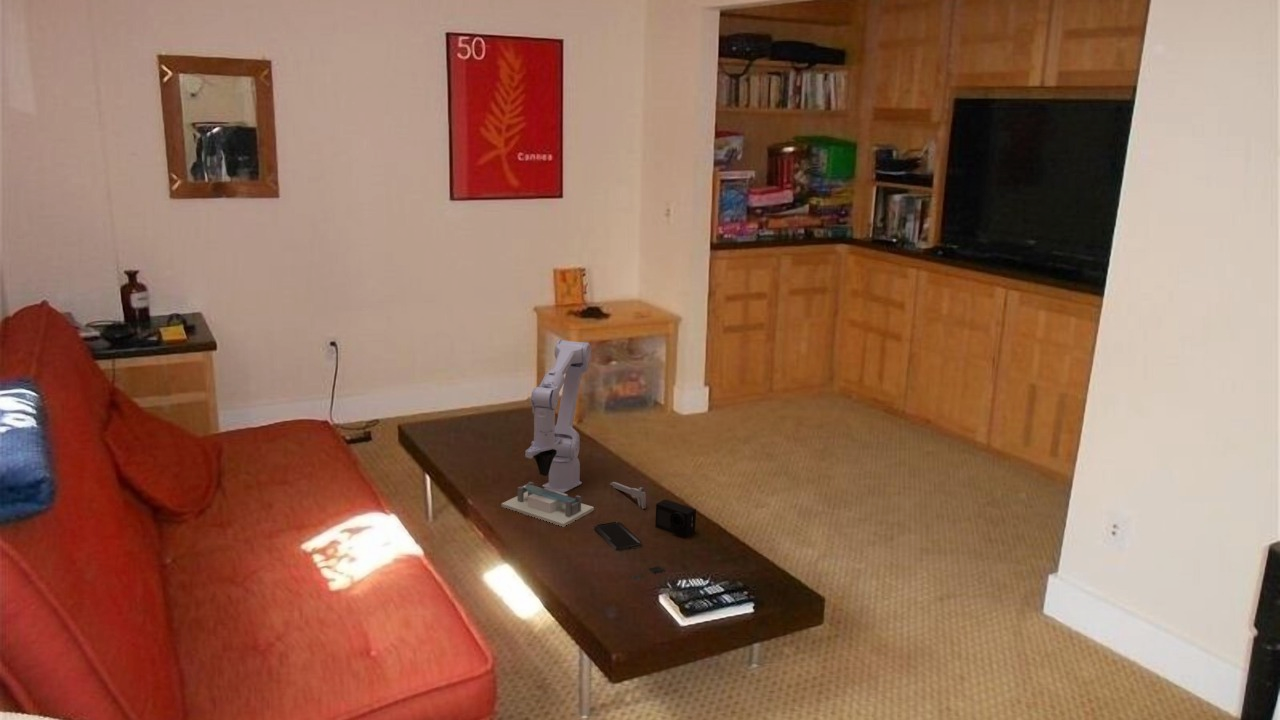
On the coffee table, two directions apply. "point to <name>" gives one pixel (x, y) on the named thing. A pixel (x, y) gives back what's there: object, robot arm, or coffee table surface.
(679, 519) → the digital camera
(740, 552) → the coffee table surface
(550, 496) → the retention strap
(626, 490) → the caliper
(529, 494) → the socket board
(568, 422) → the robot arm
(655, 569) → the circuit board
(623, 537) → the phone
